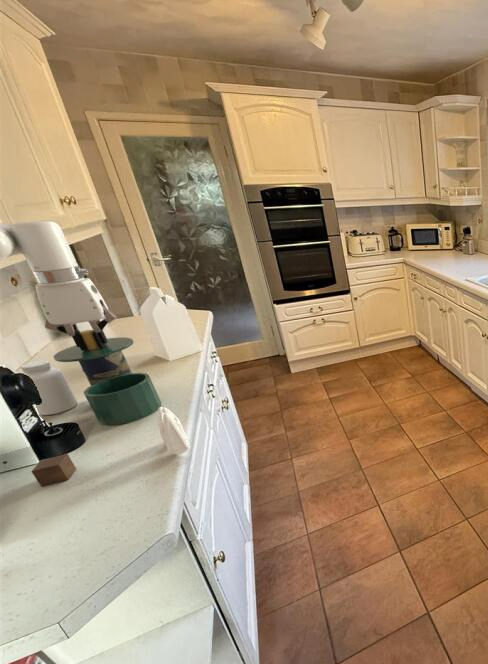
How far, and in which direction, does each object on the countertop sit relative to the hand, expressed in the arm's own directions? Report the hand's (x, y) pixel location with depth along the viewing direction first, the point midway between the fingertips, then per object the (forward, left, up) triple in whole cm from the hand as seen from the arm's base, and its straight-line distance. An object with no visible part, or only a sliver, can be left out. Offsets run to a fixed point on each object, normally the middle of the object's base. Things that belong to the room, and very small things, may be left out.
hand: (94, 346), depth 100 cm
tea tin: (-2, +7, -23) cm, 24 cm away
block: (-8, -21, -23) cm, 32 cm away
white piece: (+14, -21, -23) cm, 34 cm away
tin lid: (0, 0, -1) cm, 1 cm away
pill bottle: (-22, +21, -23) cm, 38 cm away
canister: (-8, +21, -23) cm, 32 cm away
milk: (+2, +55, -23) cm, 60 cm away
